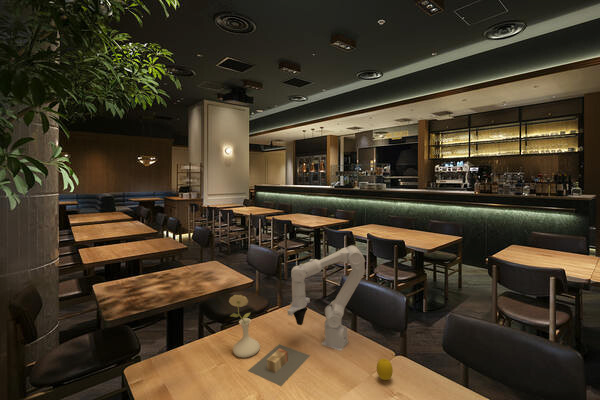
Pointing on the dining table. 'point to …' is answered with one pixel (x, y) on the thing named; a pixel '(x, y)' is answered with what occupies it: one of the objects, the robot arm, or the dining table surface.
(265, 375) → the rubber mat
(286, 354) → the maple block
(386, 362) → the lemon
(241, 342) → the flower in vase
